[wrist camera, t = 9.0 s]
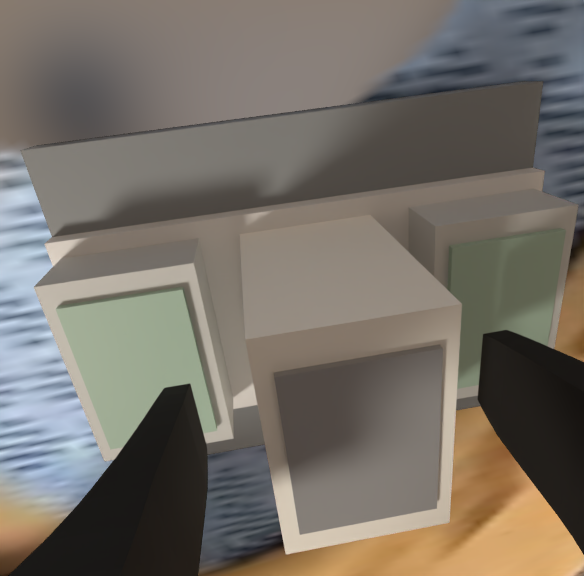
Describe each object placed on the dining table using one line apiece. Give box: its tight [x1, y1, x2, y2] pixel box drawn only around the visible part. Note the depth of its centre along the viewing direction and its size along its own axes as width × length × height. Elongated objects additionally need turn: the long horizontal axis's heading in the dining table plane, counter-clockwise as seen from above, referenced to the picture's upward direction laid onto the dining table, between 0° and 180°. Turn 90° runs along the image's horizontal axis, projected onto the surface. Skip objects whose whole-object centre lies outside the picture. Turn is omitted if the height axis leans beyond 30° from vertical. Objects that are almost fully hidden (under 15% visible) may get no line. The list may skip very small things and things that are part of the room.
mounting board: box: [21, 81, 578, 461], centre depth 14 cm, size 15×12×4 cm
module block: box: [239, 215, 462, 554], centre depth 12 cm, size 4×6×6 cm, turn 7°
